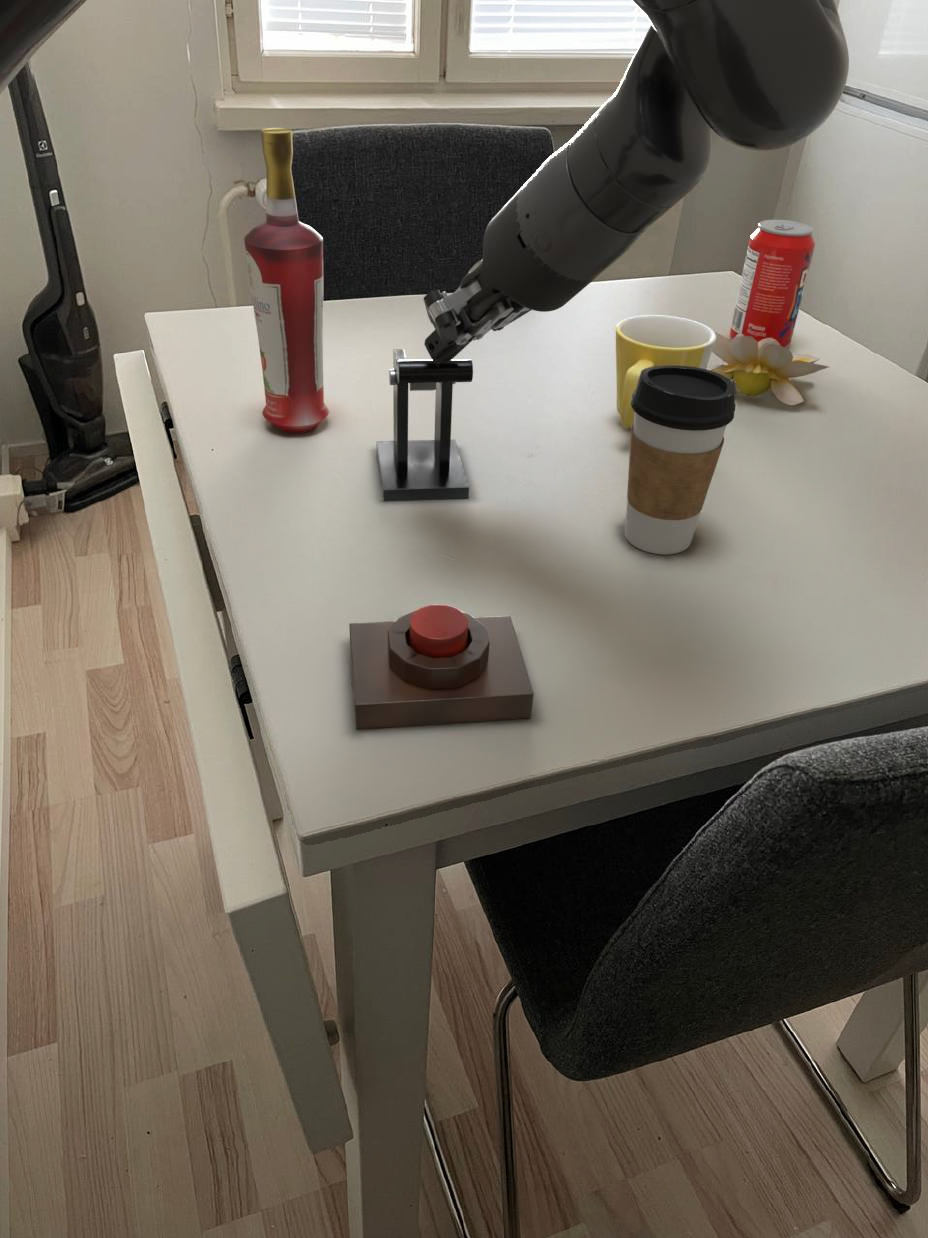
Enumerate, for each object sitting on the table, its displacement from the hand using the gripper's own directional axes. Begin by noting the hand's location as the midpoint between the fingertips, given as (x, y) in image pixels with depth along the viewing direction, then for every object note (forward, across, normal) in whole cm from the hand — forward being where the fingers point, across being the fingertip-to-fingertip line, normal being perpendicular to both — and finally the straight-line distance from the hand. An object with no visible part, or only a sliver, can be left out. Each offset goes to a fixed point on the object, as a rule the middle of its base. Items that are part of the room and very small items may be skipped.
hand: (435, 351), depth 76 cm
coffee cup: (+1, -14, +22) cm, 26 cm away
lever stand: (+17, -6, +6) cm, 19 cm away
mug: (+12, -31, +11) cm, 35 cm away
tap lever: (+6, -3, +1) cm, 7 cm away
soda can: (+16, -64, +7) cm, 66 cm away
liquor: (+29, -3, -6) cm, 29 cm away
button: (-3, +14, +20) cm, 25 cm away
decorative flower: (+10, -50, +13) cm, 53 cm away
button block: (0, +14, +23) cm, 27 cm away
